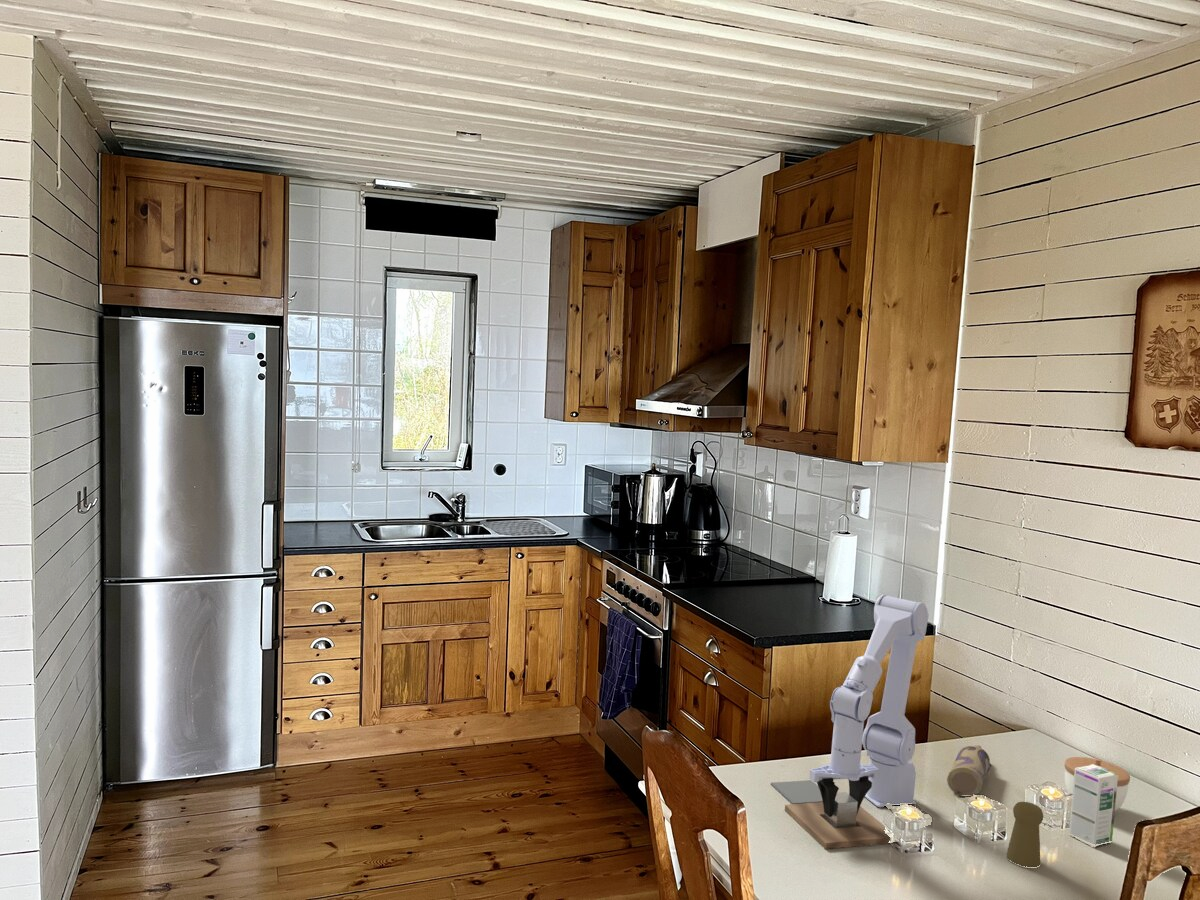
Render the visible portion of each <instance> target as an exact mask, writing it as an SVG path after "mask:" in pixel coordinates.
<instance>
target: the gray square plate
mask: <svg viewBox="0 0 1200 900" xmlns="http://www.w3.org/2000/svg"><path fill="white" fill-rule="evenodd" d="M770 785H771V786H772V788H774V789H775V790H776V791H777V792H778V793H779V794H780V795H781V796H782V797H784V798H785V799H786V800H787V801H788V802H789V803H790V804H803V803H817V802H823V800H822V796H821V792H820V789H819V787H818V784H817V783H816V782H813V781H812V780H811V779H809V780H807V779H805V780H791V781H775V782H770Z"/></svg>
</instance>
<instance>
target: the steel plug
mask: <svg viewBox="0 0 1200 900" xmlns="http://www.w3.org/2000/svg"><path fill="white" fill-rule="evenodd" d="M857 804H858V802H857V801H856V800H855V799H854V798H852V797H851V796H850V795H849V793H847V792H846V791H841V792H839V791H838V792H837V795H836V798H835V803H834V812H833V816H832V817H829V816H828V815H826V814H825V817H824V819H825V820H826V821H827V822H828V823H829V824H830V825H831V826H833V827H834V828H835V829H836V828H848V827H855V826H856V815H857Z"/></svg>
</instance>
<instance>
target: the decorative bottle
mask: <svg viewBox="0 0 1200 900" xmlns="http://www.w3.org/2000/svg"><path fill="white" fill-rule="evenodd" d="M991 767H992V764H991V761H990V756H989V754H988V753H987V752H986V750H985V749H983V748H982V746H981V745H967V746H965V747H961V749H960V750H959V752H958V754H957V756H956V758H955V761H954V762H953V765H952V767H951V768H950V769H949V772H948V774H947V777H946V782H947V786H948V788H949V789H950V790H951V791H952V792H953V793H954V794H956V795H957V794H959V795H958V796H960V795H973V794H976V795H978V794H979V793H980V792H981V791H982V788H983V783H984V780H985V777H986V776H987V775H988V772H989V771H990V770H991Z"/></svg>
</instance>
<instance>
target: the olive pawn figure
mask: <svg viewBox="0 0 1200 900" xmlns="http://www.w3.org/2000/svg"><path fill="white" fill-rule="evenodd" d="M1012 813H1013V817H1014V819H1015V820H1014V824H1013V828H1012V831H1011V835H1010V839H1009V843H1008V845H1007V846H1008V847H1007V852H1006V855H1007V858H1008V859H1009V860H1011V861H1012V862H1014V863H1016V864H1019V865H1021V866H1025V867H1026V866H1027V867H1037V866H1039V865H1040V864H1041V842H1040V841H1041V840H1040V839H1041V838H1040V825H1041V824H1042V822H1043V821H1044V812H1043V810H1042V808H1041V807H1040V806H1039V805H1037V804H1034V803H1032V802H1029V801H1019V802H1018V801H1017V803H1015V805H1014V806H1013V810H1012ZM1006 855H1005V856H1006ZM1007 858H1006V859H1007ZM1008 859H1007V860H1008ZM1009 860H1008V861H1009Z"/></svg>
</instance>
